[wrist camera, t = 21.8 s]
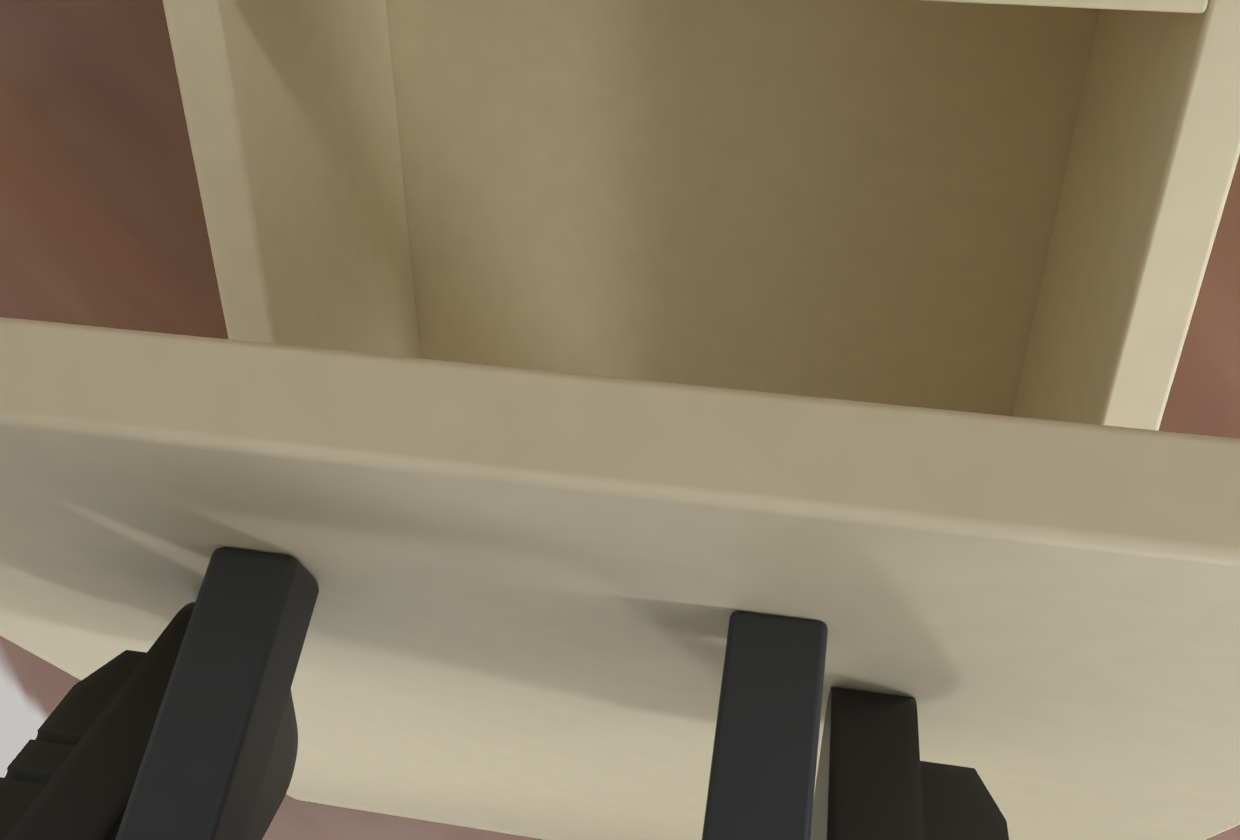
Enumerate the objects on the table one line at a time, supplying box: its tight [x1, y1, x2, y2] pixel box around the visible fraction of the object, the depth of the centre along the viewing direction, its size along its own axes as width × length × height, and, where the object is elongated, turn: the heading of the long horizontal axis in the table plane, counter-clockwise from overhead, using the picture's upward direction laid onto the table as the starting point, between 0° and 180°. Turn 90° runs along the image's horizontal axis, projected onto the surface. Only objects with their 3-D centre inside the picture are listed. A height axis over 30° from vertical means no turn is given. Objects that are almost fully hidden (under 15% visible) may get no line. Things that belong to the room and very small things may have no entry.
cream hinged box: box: [163, 0, 1240, 431], centre depth 21 cm, size 16×14×7 cm
